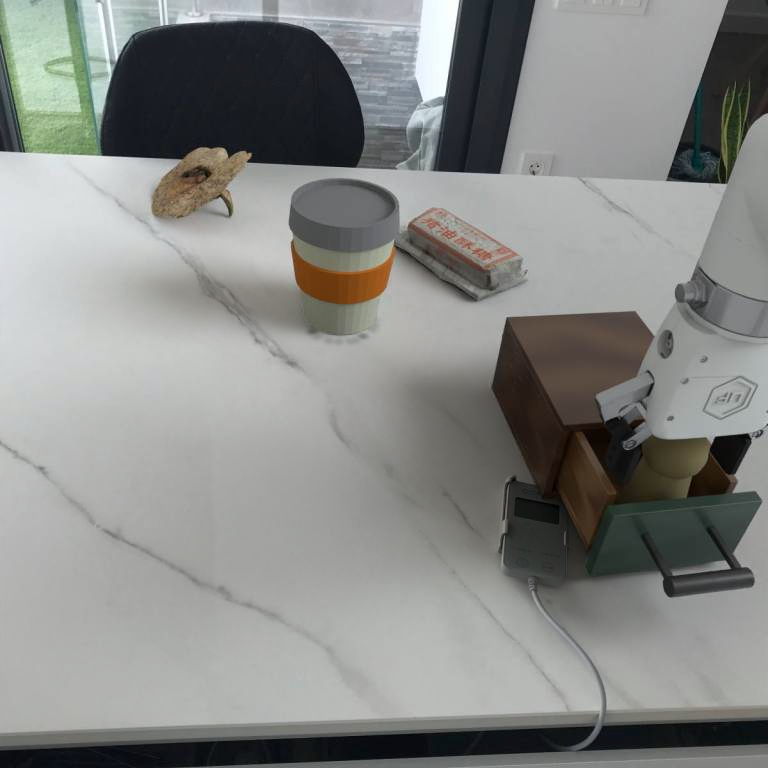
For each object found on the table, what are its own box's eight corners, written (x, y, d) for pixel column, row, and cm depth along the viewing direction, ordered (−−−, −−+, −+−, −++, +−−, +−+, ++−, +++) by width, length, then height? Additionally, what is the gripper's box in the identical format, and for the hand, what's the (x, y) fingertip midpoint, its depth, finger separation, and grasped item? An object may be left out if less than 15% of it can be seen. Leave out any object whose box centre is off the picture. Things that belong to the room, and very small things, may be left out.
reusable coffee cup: (371, 280, 102) (379, 173, 92) (405, 335, 93) (418, 222, 83) (277, 292, 98) (276, 181, 88) (304, 351, 89) (305, 234, 79)
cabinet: (680, 485, 77) (713, 413, 71) (541, 499, 74) (564, 425, 68) (611, 379, 89) (635, 310, 83) (491, 387, 86) (506, 316, 80)
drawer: (766, 616, 64) (805, 557, 59) (617, 636, 62) (645, 576, 57) (651, 439, 80) (675, 381, 75) (529, 449, 78) (545, 390, 73)
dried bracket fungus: (148, 243, 117) (119, 199, 112) (211, 191, 124) (186, 147, 119) (220, 246, 105) (191, 197, 101) (286, 188, 112) (261, 140, 108)
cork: (635, 487, 73) (671, 399, 66) (690, 527, 70) (734, 439, 63) (595, 516, 70) (629, 426, 63) (650, 559, 67) (693, 470, 60)
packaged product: (537, 250, 101) (483, 272, 96) (529, 282, 104) (477, 304, 99) (445, 196, 112) (391, 212, 106) (440, 226, 115) (388, 244, 109)
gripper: (656, 333, 50) (591, 511, 61) (886, 321, 53) (785, 491, 64) (608, 272, 55) (557, 445, 66) (819, 264, 59) (737, 430, 70)
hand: (669, 467), depth 65 cm, fingers open, 9 cm apart
